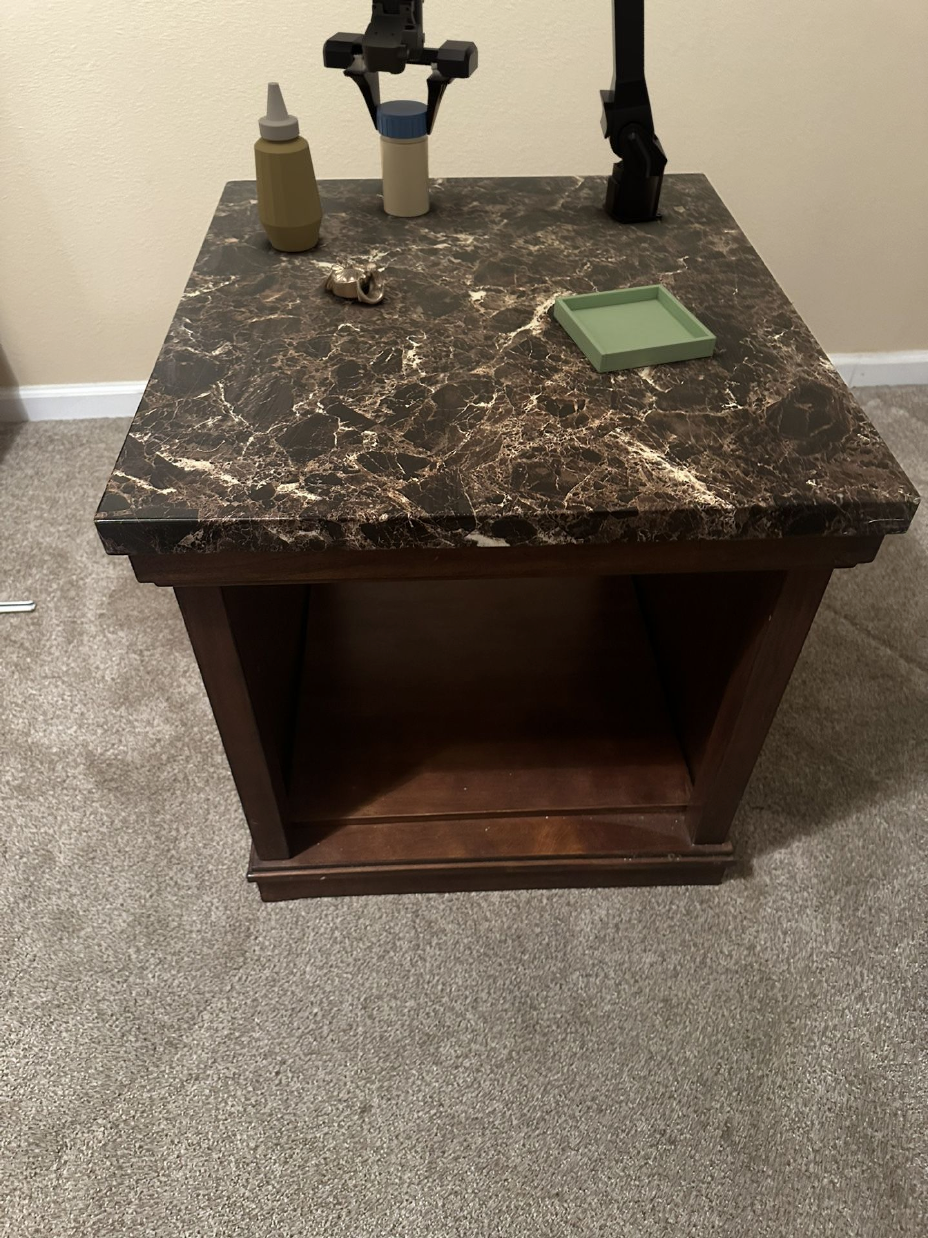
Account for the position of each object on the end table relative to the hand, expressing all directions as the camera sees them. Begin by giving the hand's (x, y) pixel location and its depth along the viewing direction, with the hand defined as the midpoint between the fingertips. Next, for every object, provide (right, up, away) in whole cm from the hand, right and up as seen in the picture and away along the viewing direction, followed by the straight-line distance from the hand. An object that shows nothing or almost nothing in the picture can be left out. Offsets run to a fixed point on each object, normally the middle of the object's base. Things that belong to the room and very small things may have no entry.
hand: (403, 131), depth 109 cm
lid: (0, +2, -2) cm, 2 cm away
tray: (+27, -33, -17) cm, 46 cm away
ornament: (-5, -26, -11) cm, 29 cm away
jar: (0, -7, +7) cm, 10 cm away
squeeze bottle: (-14, -16, -2) cm, 21 cm away
